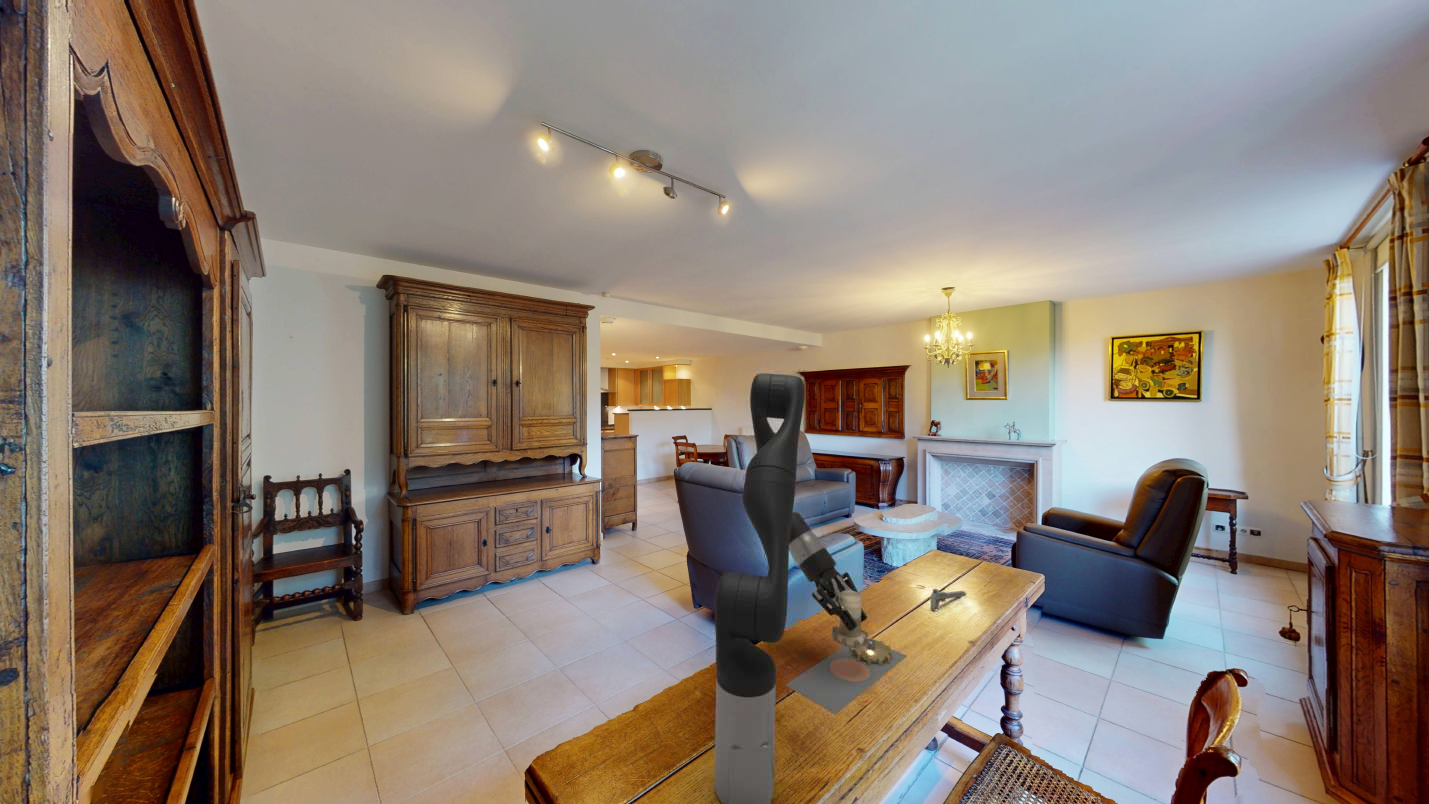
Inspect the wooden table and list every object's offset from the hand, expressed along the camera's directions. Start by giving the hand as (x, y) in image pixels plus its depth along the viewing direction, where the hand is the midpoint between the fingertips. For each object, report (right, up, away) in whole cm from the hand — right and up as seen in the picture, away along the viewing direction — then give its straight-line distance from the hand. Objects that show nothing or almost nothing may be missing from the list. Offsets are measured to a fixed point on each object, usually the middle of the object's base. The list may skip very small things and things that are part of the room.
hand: (858, 624), depth 102 cm
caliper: (+39, -13, +40) cm, 57 cm away
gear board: (-2, -12, +1) cm, 12 cm away
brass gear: (+5, -11, +8) cm, 14 cm away
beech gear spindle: (-1, -4, +1) cm, 5 cm away
